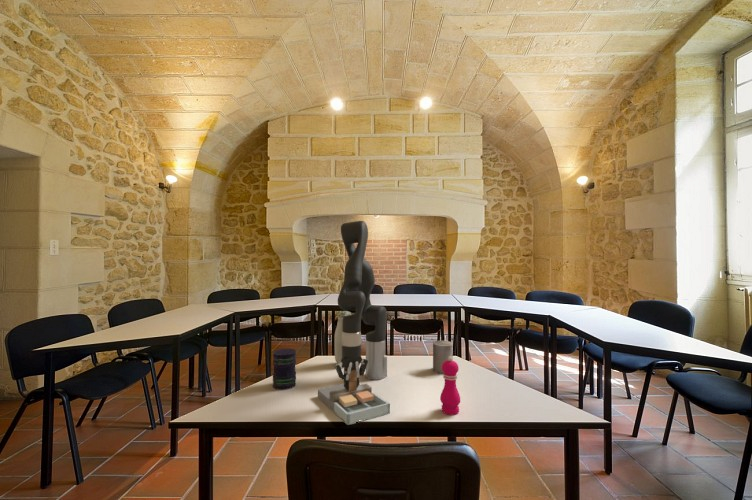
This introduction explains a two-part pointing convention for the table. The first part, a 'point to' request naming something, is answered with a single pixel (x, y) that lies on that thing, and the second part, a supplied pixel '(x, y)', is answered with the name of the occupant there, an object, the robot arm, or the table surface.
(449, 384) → the pepper mill
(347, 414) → the tray
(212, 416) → the table surface
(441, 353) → the pillar candle
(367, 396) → the tile
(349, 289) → the robot arm
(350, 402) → the tile
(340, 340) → the grey bottle
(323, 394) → the board
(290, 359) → the storage jar
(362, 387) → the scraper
